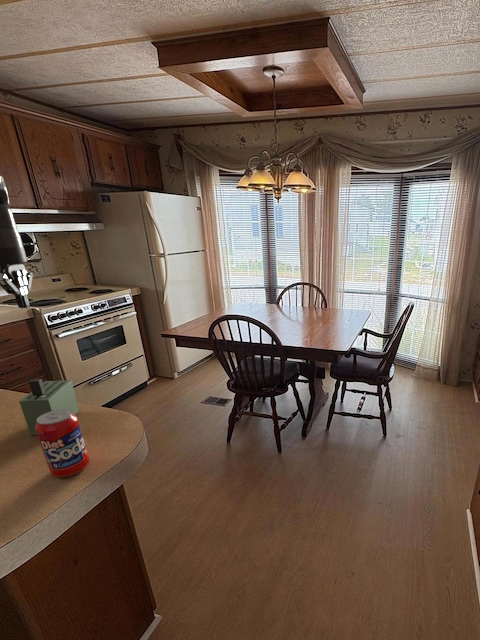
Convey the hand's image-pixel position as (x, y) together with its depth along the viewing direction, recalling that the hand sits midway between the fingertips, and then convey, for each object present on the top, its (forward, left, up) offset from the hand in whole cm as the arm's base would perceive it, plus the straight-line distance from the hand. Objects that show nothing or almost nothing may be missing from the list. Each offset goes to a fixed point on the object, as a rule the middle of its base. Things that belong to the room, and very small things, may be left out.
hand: (24, 307), depth 101 cm
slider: (+4, -18, -21) cm, 28 cm away
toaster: (+4, -15, -32) cm, 36 cm away
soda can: (+13, -41, -32) cm, 54 cm away
